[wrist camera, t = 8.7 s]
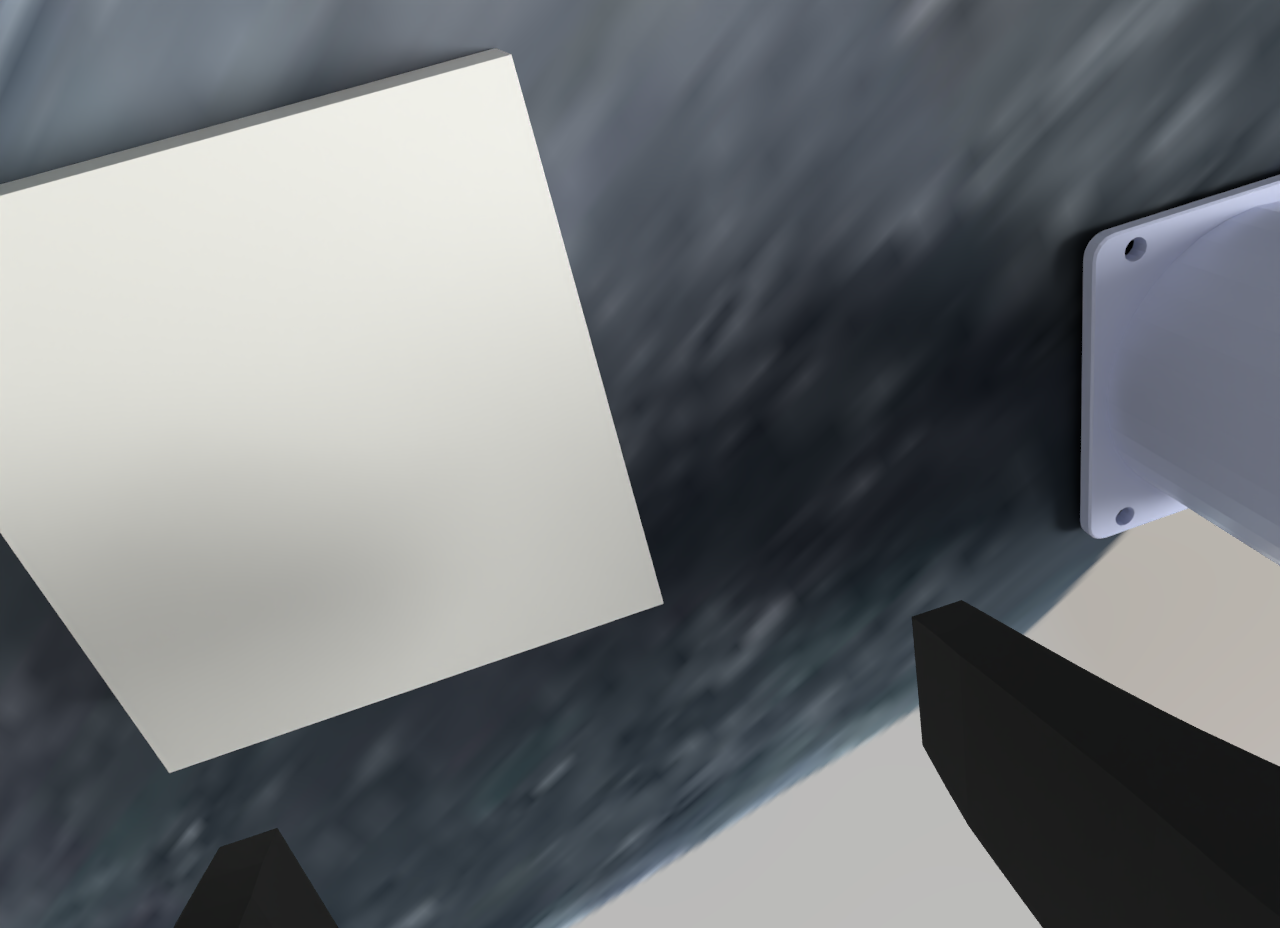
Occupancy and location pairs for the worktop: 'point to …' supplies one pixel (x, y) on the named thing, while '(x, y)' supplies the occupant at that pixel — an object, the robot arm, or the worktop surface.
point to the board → (309, 409)
